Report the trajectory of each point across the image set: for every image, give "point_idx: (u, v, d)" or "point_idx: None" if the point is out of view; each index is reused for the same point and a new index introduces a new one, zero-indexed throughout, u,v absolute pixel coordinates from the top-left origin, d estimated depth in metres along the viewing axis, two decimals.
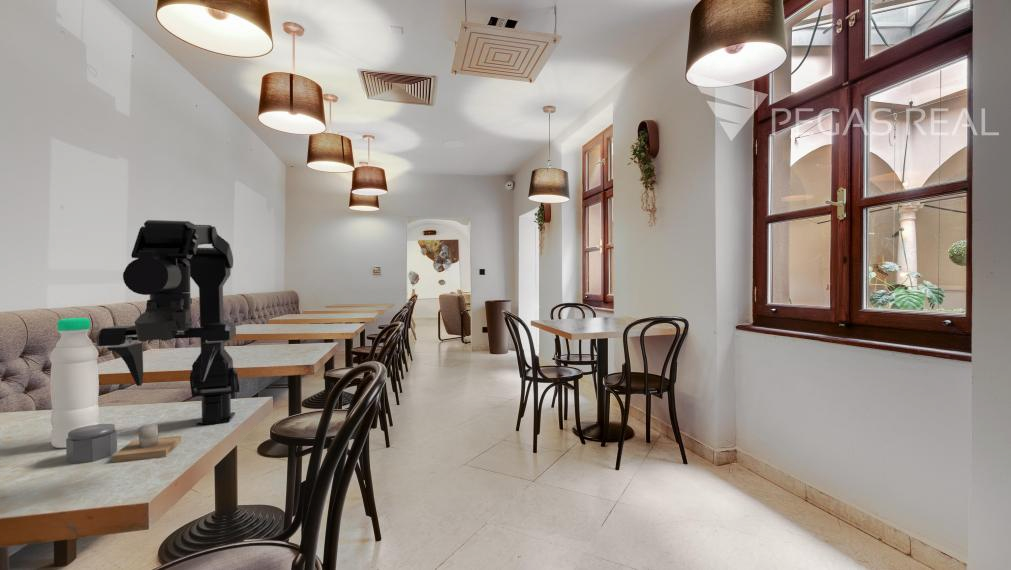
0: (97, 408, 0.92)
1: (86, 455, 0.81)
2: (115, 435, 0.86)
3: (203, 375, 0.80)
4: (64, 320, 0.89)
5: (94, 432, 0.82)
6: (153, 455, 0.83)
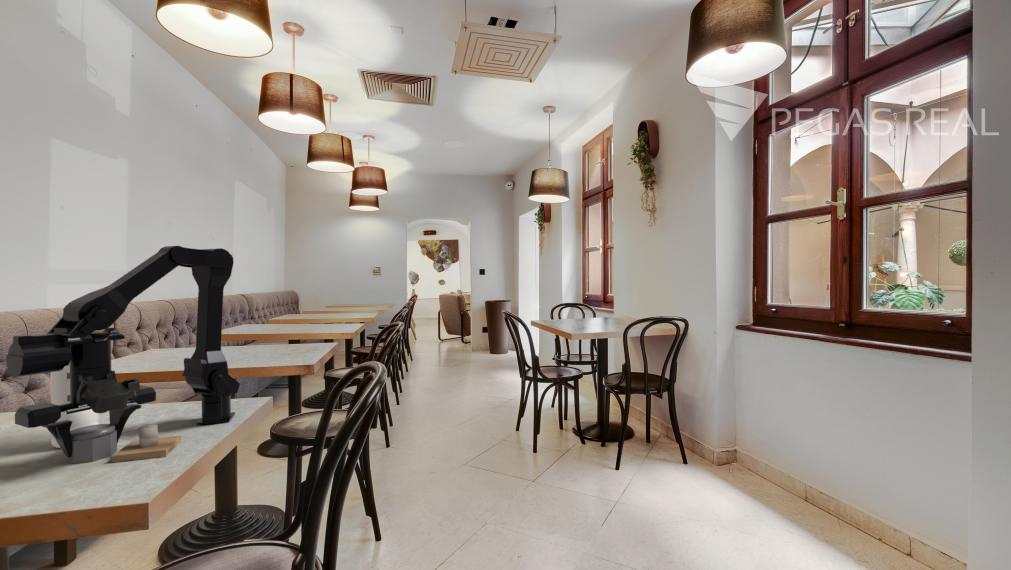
0: None
1: (86, 455, 0.81)
2: (115, 435, 0.86)
3: (118, 438, 0.87)
4: None
5: (94, 432, 0.82)
6: (153, 455, 0.83)
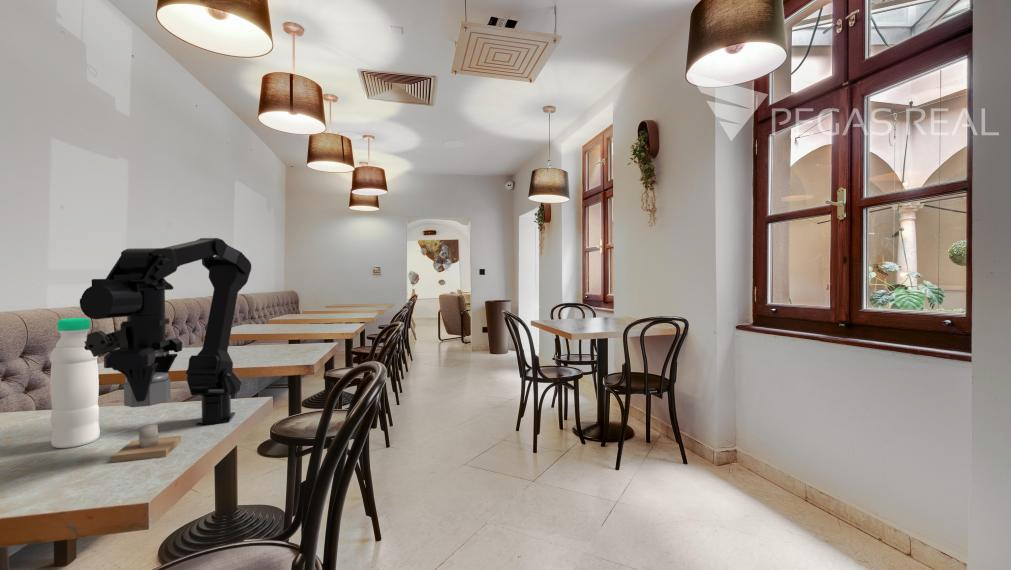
0: (97, 408, 0.92)
1: None
2: (130, 389, 0.83)
3: (134, 395, 0.82)
4: (64, 320, 0.89)
5: None
6: (153, 455, 0.83)
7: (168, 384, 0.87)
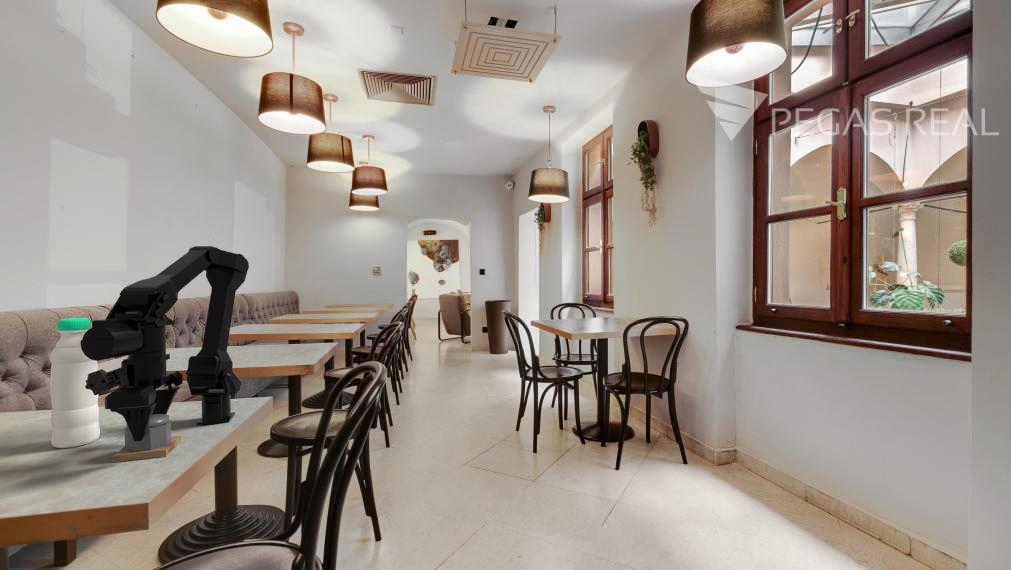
0: (97, 408, 0.92)
1: None
2: (130, 434, 0.83)
3: None
4: (64, 320, 0.89)
5: None
6: (153, 455, 0.83)
7: (169, 427, 0.88)
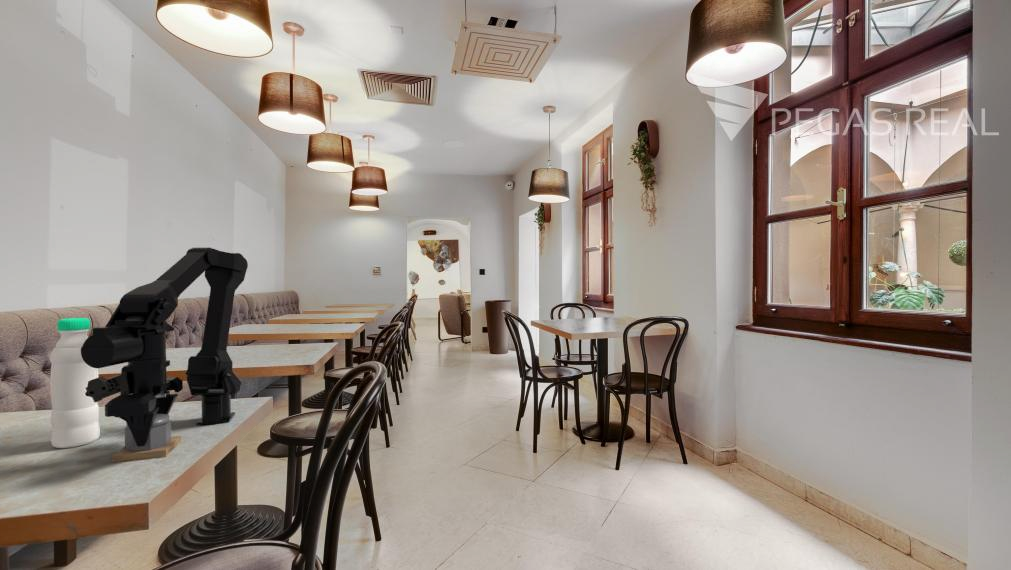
0: (97, 408, 0.92)
1: None
2: (130, 434, 0.83)
3: None
4: (64, 320, 0.89)
5: None
6: (153, 455, 0.83)
7: (169, 427, 0.88)
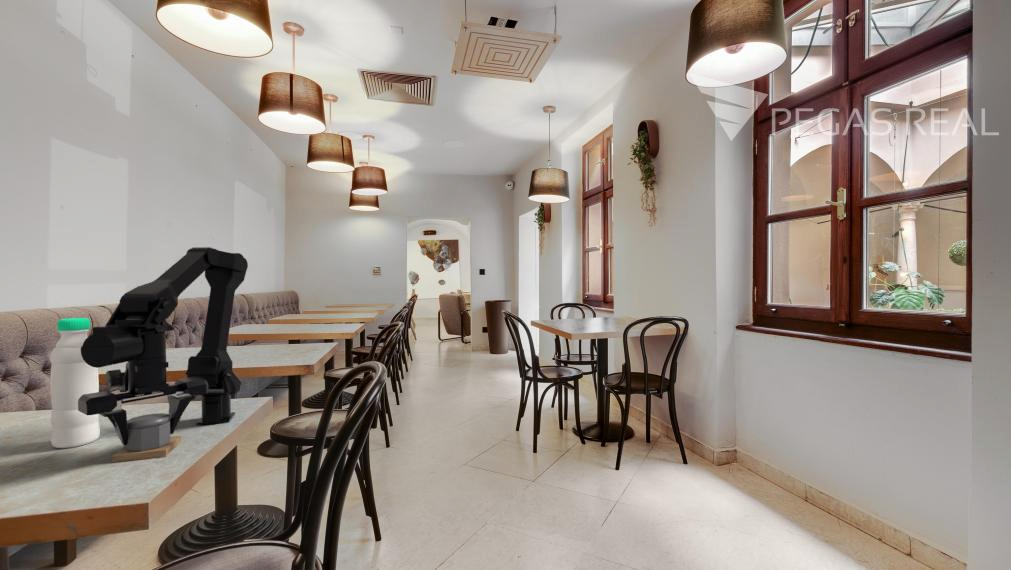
0: None
1: None
2: None
3: None
4: (64, 320, 0.89)
5: (162, 414, 0.89)
6: (153, 455, 0.83)
7: (135, 435, 0.83)
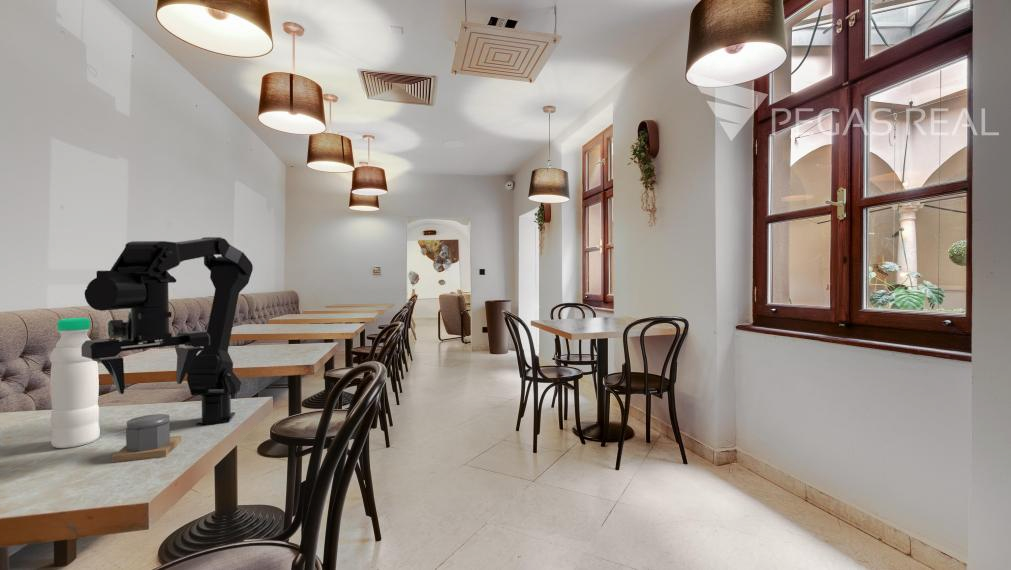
0: (97, 408, 0.92)
1: None
2: None
3: None
4: (64, 320, 0.89)
5: (163, 415, 0.89)
6: (153, 455, 0.83)
7: (133, 435, 0.83)
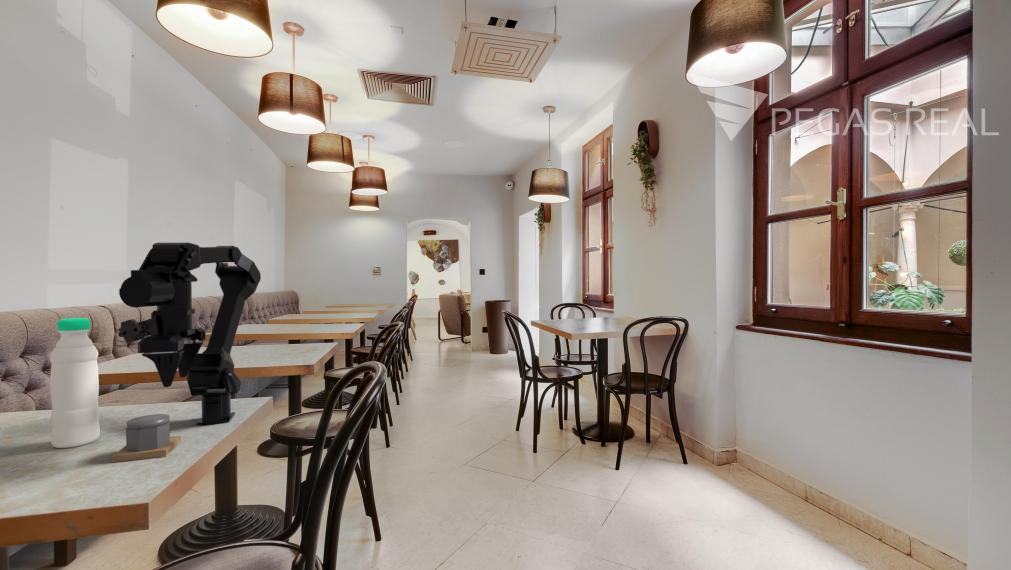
0: (97, 408, 0.92)
1: None
2: None
3: (162, 381, 0.87)
4: (64, 320, 0.89)
5: (163, 415, 0.89)
6: (153, 455, 0.83)
7: (133, 435, 0.83)
